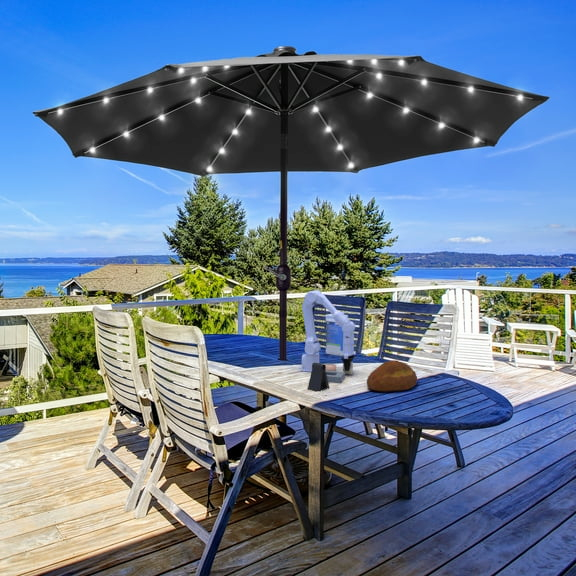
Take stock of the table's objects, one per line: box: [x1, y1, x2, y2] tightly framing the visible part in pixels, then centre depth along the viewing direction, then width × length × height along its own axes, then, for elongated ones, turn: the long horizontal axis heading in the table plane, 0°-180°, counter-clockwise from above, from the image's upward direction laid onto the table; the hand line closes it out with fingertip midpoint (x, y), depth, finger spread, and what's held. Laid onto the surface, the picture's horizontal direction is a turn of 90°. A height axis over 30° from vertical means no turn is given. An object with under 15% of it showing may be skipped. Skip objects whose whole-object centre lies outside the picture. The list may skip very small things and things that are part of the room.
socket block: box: [326, 370, 346, 384], centre depth 237 cm, size 13×12×3 cm
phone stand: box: [307, 362, 330, 392], centre depth 219 cm, size 9×6×12 cm, turn 137°
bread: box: [366, 359, 418, 392], centre depth 224 cm, size 21×33×12 cm, turn 129°
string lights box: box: [325, 313, 349, 357], centre depth 303 cm, size 13×8×26 cm, turn 49°
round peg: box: [324, 363, 337, 371], centre depth 248 cm, size 6×6×5 cm
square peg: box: [342, 361, 354, 376], centre depth 248 cm, size 4×4×6 cm
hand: (347, 369), depth 248 cm, fingers closed on square peg, 4 cm apart
